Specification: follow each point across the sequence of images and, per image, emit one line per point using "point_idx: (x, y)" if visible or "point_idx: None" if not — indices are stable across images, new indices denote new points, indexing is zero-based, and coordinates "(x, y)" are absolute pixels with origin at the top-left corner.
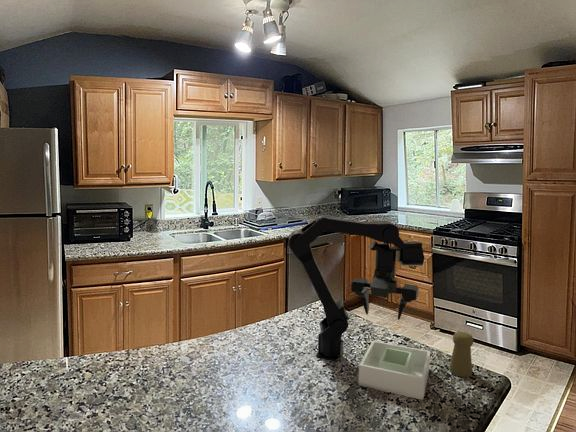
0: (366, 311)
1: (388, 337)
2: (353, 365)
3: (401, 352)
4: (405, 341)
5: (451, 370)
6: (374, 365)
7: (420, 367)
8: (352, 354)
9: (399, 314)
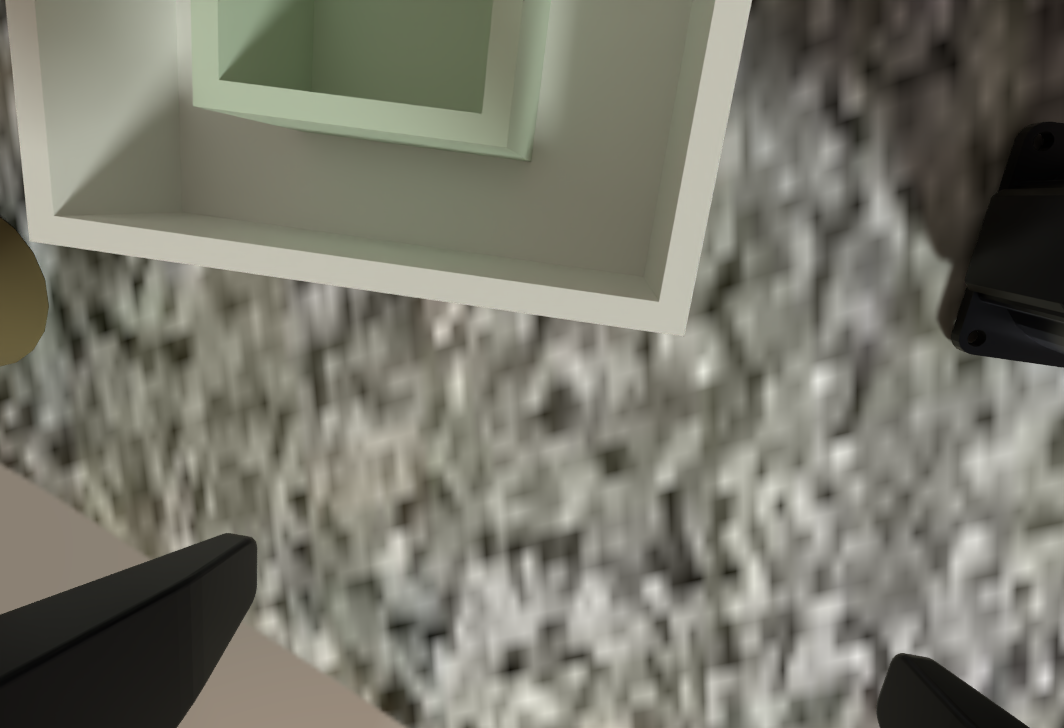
0: (973, 703)
1: (535, 710)
2: (835, 96)
3: (316, 94)
4: (400, 670)
5: (7, 244)
6: (630, 102)
7: (228, 202)
8: (846, 326)
9: (130, 585)
